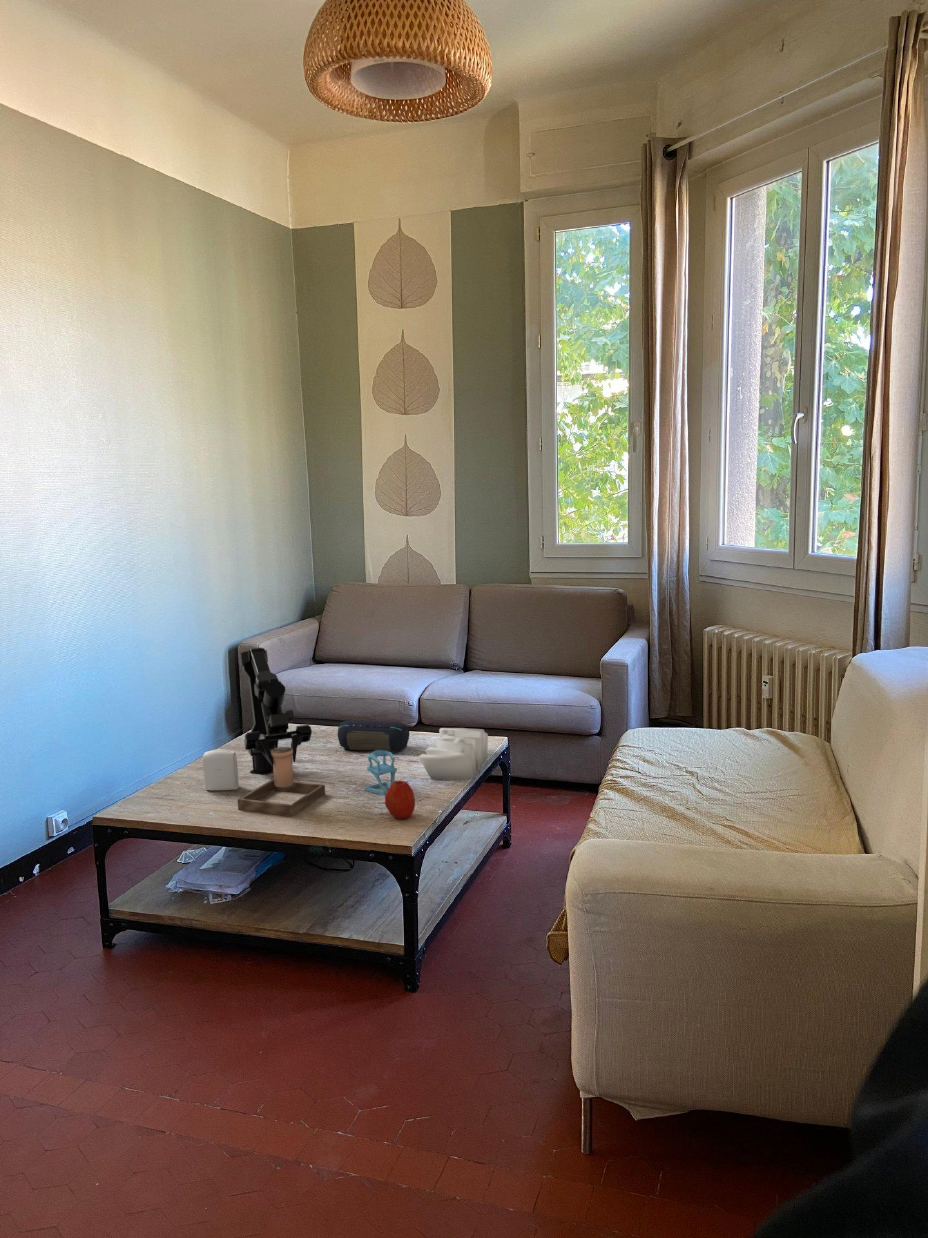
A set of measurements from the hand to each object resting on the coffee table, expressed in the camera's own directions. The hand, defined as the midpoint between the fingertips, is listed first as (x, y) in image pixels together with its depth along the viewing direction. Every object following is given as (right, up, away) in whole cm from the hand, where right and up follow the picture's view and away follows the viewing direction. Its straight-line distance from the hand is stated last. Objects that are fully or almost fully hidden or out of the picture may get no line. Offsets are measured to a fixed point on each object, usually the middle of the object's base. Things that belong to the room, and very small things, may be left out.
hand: (283, 763), depth 253 cm
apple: (+34, -14, -7) cm, 37 cm away
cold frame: (-2, -12, +7) cm, 14 cm away
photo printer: (-23, -11, +19) cm, 31 cm away
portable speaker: (+20, -4, +54) cm, 58 cm away
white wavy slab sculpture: (+49, -7, +33) cm, 60 cm away
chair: (+27, -11, +14) cm, 32 cm away
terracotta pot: (0, -6, +2) cm, 7 cm away
